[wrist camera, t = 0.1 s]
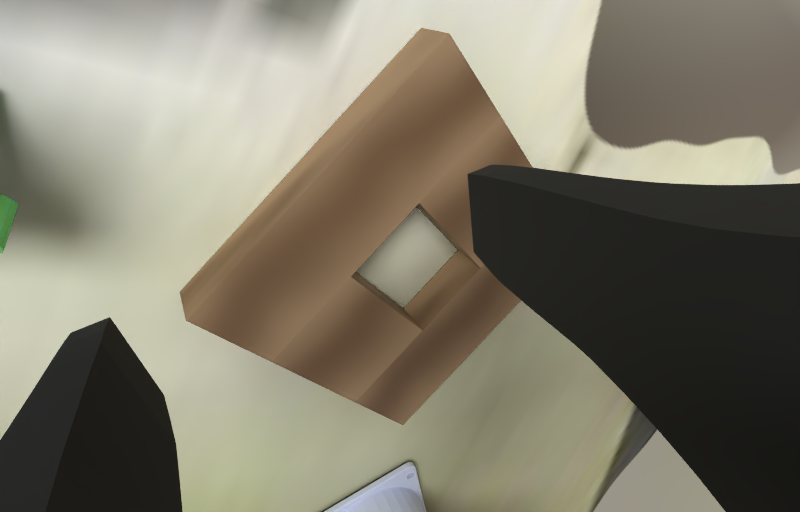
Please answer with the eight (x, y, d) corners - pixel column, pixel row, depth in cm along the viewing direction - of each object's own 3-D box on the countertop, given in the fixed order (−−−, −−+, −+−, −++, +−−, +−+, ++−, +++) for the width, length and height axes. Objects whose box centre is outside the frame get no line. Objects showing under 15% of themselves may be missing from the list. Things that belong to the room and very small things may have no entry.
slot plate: (551, 225, 28) (577, 240, 26) (387, 400, 28) (402, 425, 27) (421, 27, 19) (449, 33, 17) (179, 292, 19) (185, 320, 17)
